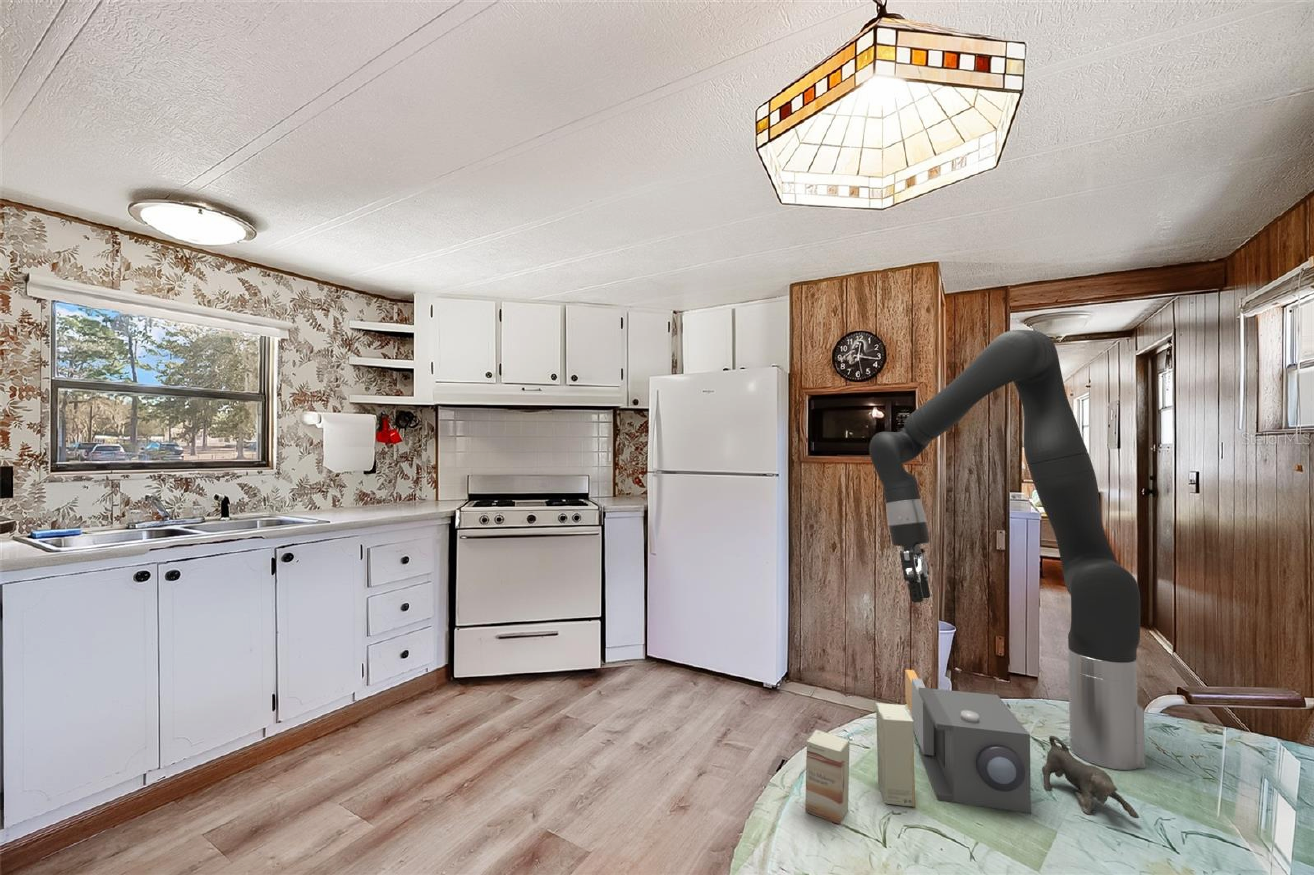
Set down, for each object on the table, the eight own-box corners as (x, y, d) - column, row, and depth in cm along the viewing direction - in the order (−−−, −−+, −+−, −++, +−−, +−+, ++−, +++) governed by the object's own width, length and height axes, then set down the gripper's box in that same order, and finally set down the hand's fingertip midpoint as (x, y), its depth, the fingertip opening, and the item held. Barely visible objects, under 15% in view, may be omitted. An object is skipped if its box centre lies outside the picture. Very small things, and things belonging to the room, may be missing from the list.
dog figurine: (1034, 782, 89) (1032, 734, 90) (1066, 779, 90) (1065, 731, 90) (1105, 831, 77) (1104, 775, 78) (1142, 827, 78) (1140, 772, 79)
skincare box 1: (804, 812, 81) (804, 740, 81) (814, 797, 85) (814, 728, 85) (841, 826, 78) (841, 751, 78) (850, 810, 82) (850, 738, 82)
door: (914, 711, 111) (914, 665, 112) (933, 755, 95) (933, 701, 95) (905, 710, 112) (905, 664, 112) (923, 754, 95) (922, 700, 95)
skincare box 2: (916, 808, 82) (915, 722, 83) (883, 804, 83) (882, 719, 83) (906, 784, 88) (905, 704, 89) (875, 780, 89) (875, 701, 90)
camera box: (998, 762, 95) (997, 690, 95) (1034, 818, 80) (1033, 733, 80) (918, 752, 98) (918, 682, 98) (939, 804, 83) (938, 722, 83)
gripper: (919, 520, 116) (935, 603, 112) (931, 520, 127) (946, 595, 124) (881, 524, 120) (895, 604, 116) (895, 524, 131) (909, 597, 128)
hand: (921, 600), depth 120 cm, fingers open, 8 cm apart
